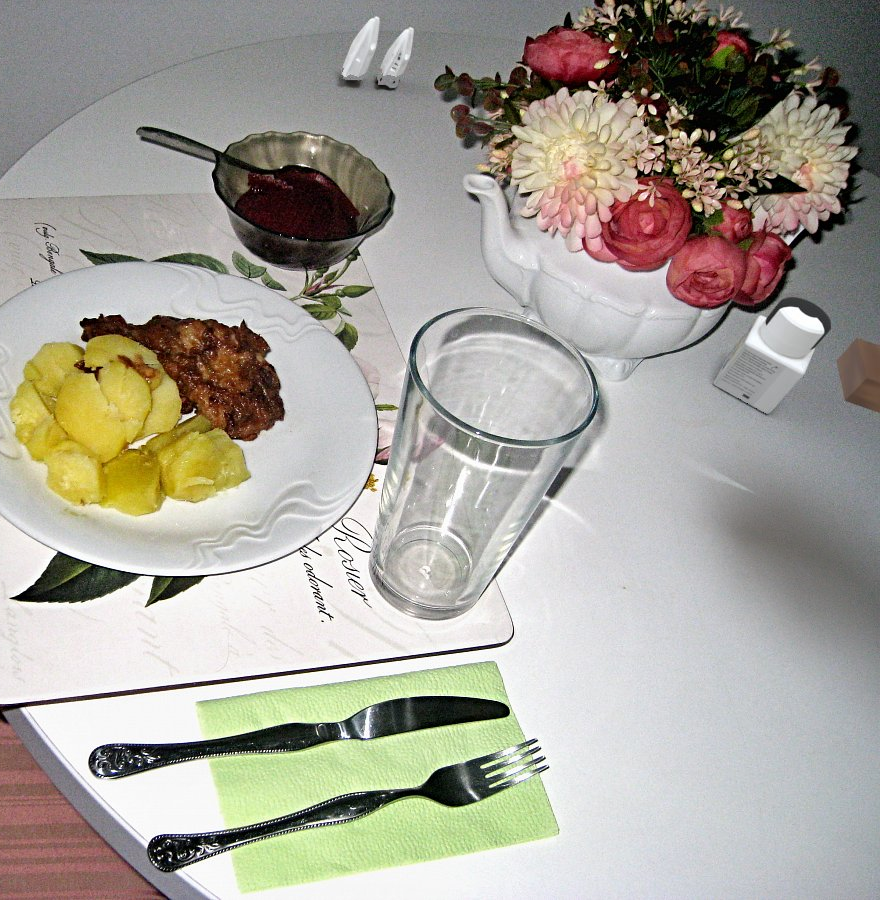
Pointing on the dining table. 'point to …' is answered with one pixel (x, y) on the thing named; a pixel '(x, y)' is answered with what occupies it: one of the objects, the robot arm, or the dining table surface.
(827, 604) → the dining table surface
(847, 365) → the wooden brick
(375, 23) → the shaker set
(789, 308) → the container
